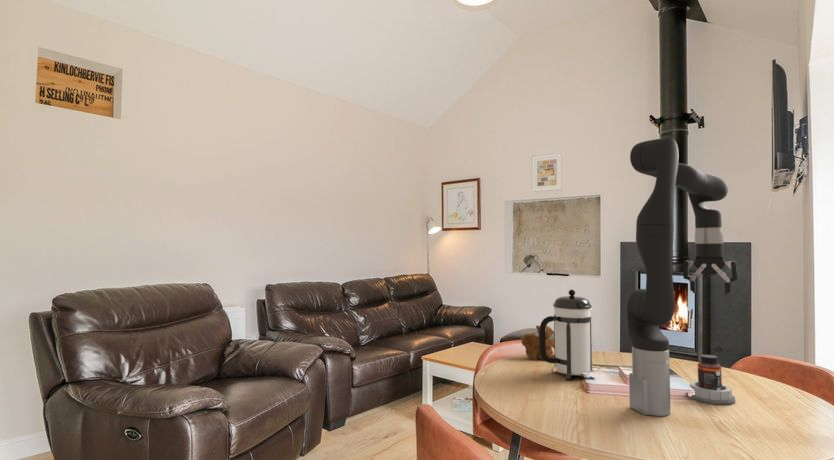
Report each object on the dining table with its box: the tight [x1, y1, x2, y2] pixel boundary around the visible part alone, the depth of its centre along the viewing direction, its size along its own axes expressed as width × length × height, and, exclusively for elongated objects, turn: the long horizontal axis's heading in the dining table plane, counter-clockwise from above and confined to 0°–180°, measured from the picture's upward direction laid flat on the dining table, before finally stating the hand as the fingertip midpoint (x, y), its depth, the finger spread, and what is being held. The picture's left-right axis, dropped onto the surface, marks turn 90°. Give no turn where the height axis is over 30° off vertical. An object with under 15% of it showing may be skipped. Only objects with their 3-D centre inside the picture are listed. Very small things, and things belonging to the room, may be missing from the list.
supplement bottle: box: [697, 354, 723, 390], centre depth 135 cm, size 6×6×11 cm
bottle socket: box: [689, 380, 736, 406], centre depth 135 cm, size 12×12×4 cm
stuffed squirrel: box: [520, 324, 555, 361], centre depth 182 cm, size 10×14×13 cm
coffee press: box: [539, 289, 594, 382], centre depth 158 cm, size 17×16×30 cm
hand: (710, 293), depth 142 cm, fingers open, 8 cm apart
